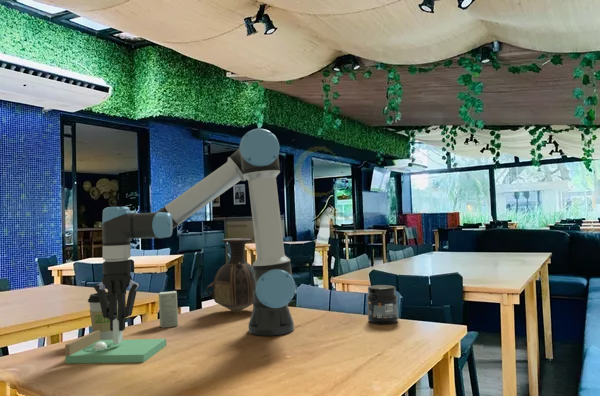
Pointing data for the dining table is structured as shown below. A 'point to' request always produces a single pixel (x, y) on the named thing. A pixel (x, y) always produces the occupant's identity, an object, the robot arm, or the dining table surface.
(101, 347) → the ball
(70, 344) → the putting platform
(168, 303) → the skincare box
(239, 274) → the vase
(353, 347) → the dining table surface
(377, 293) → the supplement container
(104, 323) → the coffee cup
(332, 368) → the dining table surface
